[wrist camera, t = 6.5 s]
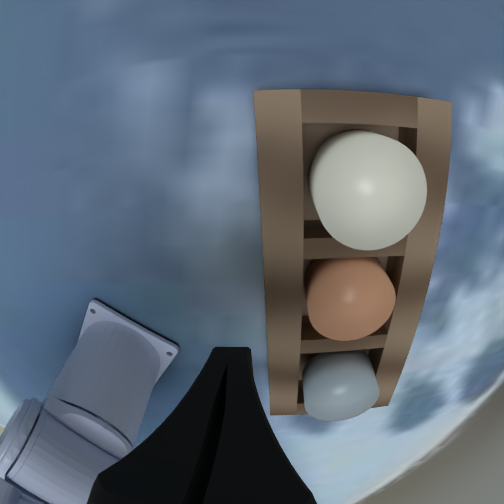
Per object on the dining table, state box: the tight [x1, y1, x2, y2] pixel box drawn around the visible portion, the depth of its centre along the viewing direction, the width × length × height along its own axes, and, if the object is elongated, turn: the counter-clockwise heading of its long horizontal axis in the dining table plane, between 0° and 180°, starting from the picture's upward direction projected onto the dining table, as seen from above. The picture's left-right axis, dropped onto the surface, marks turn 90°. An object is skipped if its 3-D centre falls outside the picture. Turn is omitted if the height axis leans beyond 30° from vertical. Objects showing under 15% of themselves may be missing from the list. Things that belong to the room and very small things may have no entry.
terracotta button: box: [304, 257, 396, 341], centre depth 19 cm, size 5×5×3 cm
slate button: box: [302, 350, 379, 421], centre depth 20 cm, size 5×5×3 cm
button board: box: [253, 89, 452, 415], centre depth 19 cm, size 23×10×3 cm, turn 4°
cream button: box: [308, 129, 427, 250], centre depth 14 cm, size 5×5×3 cm
